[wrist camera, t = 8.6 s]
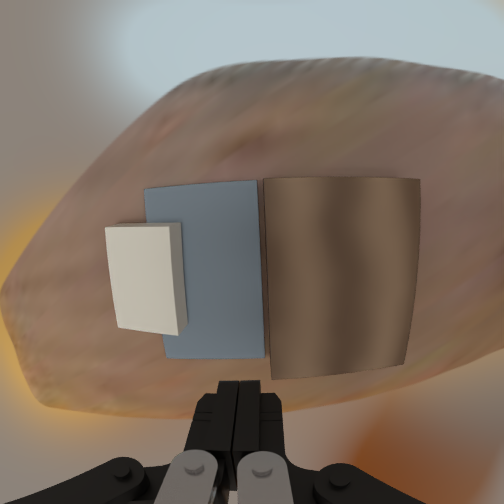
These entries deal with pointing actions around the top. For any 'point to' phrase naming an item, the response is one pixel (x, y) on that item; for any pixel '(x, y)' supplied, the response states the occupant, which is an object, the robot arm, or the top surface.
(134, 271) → the cream thick tile
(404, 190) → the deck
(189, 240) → the mat
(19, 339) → the top surface
